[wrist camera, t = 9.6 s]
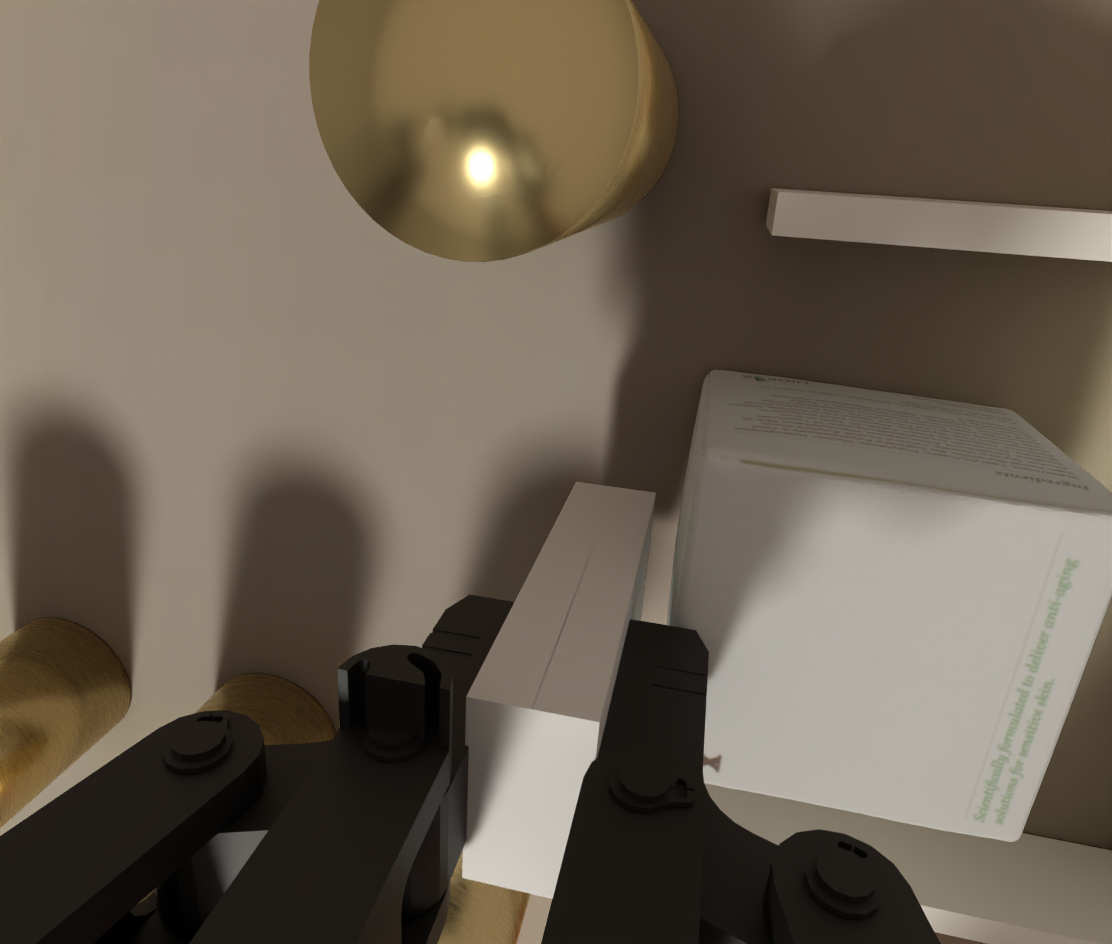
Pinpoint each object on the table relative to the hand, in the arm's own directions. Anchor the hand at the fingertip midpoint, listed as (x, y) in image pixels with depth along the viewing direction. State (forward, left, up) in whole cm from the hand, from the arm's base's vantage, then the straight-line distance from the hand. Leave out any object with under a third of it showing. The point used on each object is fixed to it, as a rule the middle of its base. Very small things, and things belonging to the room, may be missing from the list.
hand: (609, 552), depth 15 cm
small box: (+4, +1, -2) cm, 5 cm away
